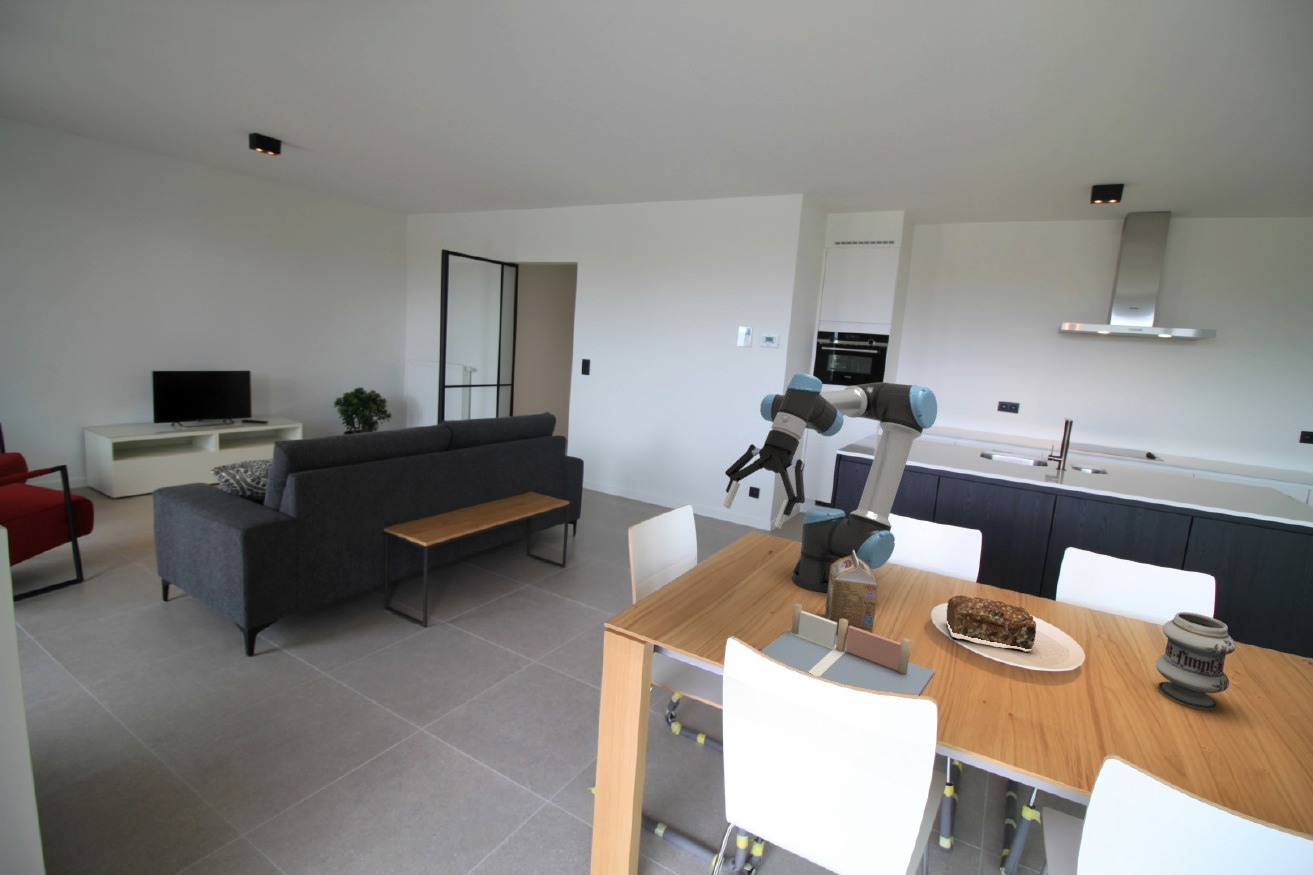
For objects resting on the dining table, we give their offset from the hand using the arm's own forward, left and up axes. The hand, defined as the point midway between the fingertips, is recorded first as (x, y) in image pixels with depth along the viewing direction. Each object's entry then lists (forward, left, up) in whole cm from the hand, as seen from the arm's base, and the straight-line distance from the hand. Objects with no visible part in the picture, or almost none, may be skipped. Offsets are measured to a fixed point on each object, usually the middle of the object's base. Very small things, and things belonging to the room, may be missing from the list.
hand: (750, 517), depth 141 cm
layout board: (-7, +23, -31) cm, 39 cm away
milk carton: (-27, +16, -31) cm, 44 cm away
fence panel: (-12, +29, -30) cm, 43 cm away
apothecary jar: (-49, +84, -31) cm, 102 cm away
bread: (-47, +45, -31) cm, 72 cm away
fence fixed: (-12, +15, -30) cm, 35 cm away
